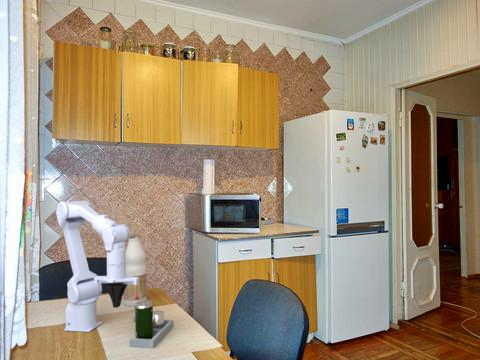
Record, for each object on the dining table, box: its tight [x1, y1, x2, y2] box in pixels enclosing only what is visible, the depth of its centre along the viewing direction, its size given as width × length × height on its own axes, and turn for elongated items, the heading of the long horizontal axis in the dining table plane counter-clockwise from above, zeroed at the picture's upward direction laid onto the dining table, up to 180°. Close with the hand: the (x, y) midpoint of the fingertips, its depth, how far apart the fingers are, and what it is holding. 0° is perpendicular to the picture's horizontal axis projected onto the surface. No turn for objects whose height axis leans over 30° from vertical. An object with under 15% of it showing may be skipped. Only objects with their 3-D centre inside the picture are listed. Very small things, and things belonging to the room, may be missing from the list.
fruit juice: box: [122, 233, 148, 307], centre depth 152 cm, size 9×9×28 cm
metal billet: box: [153, 309, 165, 329], centre depth 122 cm, size 5×5×6 cm
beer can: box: [134, 299, 154, 339], centre depth 114 cm, size 5×5×12 cm
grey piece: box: [129, 319, 174, 349], centre depth 118 cm, size 8×17×2 cm, turn 170°
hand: (116, 306), depth 116 cm, fingers closed
